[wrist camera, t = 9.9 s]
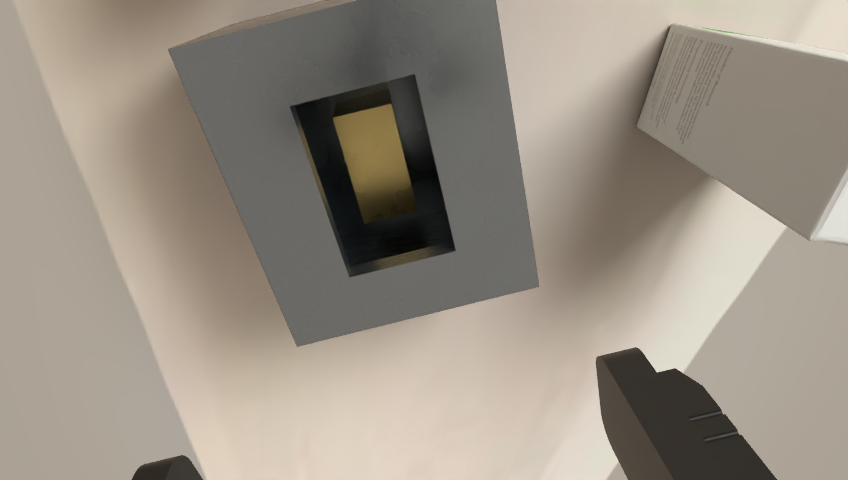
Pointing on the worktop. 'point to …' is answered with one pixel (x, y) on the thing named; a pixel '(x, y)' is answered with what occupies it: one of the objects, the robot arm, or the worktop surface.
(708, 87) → the skincare box
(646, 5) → the worktop surface
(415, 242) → the box
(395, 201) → the wooden block
